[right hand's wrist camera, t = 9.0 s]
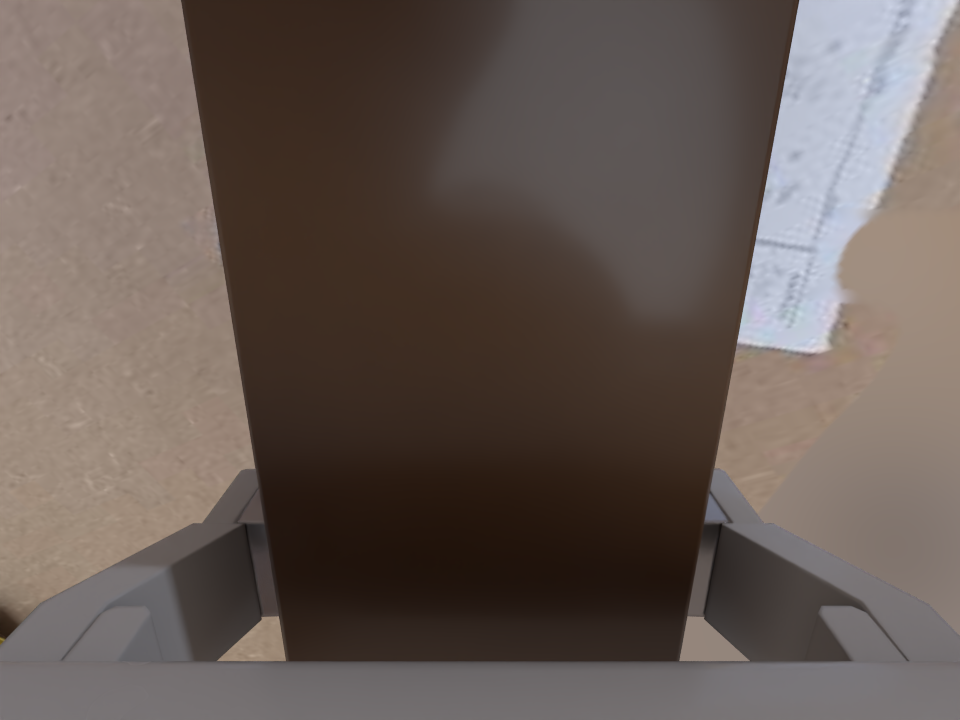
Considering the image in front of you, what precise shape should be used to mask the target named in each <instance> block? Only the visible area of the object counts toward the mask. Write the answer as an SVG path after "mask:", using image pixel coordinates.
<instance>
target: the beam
mask: <svg viewBox="0 0 960 720" xmlns="http://www.w3.org/2000/svg"><path fill="white" fill-rule="evenodd" d="M181 2H182V8H183V15H184V21H185V27H186V34H187V40H188V46H189V52H190V59H191V65H192V71H193V78H194V84H195V90H196V97H197V103H198V109H199V115H200V122H201V128H202V134H203V141H204V147H205V153H206V159H207V166H208V172H209V178H210V185H211V191H212V197H213V204H214V210H215V216H216V222H217V229H218V235H219V241H220V248H221V254H222V260H223V266H224V273H225V279H226V285H227V292H228V298H229V304H230V311H231V317H232V323H233V329H234V336H235V342H236V348H237V355H238V361H239V367H240V373H241V380H242V386H243V392H244V399H245V405H246V411H247V418H248V424H249V430H250V436H251V443H252V449H253V455H254V462H255V468H256V474H257V480H258V487H259V493H260V499H261V506H262V512H263V518H264V525H265V531H266V537H267V543H268V550H269V556H270V562H271V569H272V575H273V581H274V587H275V594H276V600H277V606H278V613H279V619H280V625H281V632H282V638H283V644H284V650H285V657H286V661H679V659H680V653H681V648H682V642H683V637H684V631H685V626H686V620H687V615H688V609H689V604H690V598H691V593H692V587H693V582H694V576H695V571H696V565H697V560H698V554H699V549H700V543H701V538H702V532H703V527H704V521H705V516H706V510H707V505H708V499H709V494H710V488H711V483H712V477H713V472H714V466H715V461H716V455H717V450H718V444H719V439H720V433H721V428H722V422H723V417H724V411H725V406H726V400H727V395H728V389H729V384H730V378H731V373H732V367H733V362H734V356H735V351H736V345H737V340H738V334H739V329H740V323H741V318H742V312H743V307H744V301H745V296H746V290H747V285H748V279H749V274H750V268H751V263H752V257H753V252H754V246H755V241H756V235H757V230H758V224H759V219H760V213H761V208H762V202H763V196H764V191H765V185H766V180H767V174H768V169H769V163H770V158H771V152H772V147H773V141H774V136H775V130H776V125H777V119H778V114H779V108H780V103H781V97H782V92H783V86H784V81H785V75H786V70H787V64H788V59H789V53H790V48H791V42H792V37H793V31H794V26H795V20H796V15H797V9H798V4H799V0H181Z"/></svg>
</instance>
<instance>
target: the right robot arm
mask: <svg viewBox="0 0 960 720" xmlns="http://www.w3.org/2000/svg"><path fill="white" fill-rule="evenodd" d="M267 616H279V613H278V606H277V600H276V594H275V587H274V581H273V575H272V569H271V562H270V556H269V550H268V543H267V537H266V531H265V525H264V518H263V512H262V506H261V499H260V493H259V487H258V480H257V474H256V469H245V470H241V471H240V472H239V474H238V475H237V476H236V478H235V479H234V481H233V482H232V483H231V485H230V486H229V487H228V489H227V490H226V491H225V493H224V494H223V496H222V497H221V498H220V500H219V501H218V502H217V504H216V505H215V506H214V508H213V509H212V510H211V512H210V513H209V515H208V516H207V517H206V519H205V520H204V521H203V523H193V524H191V525H189V526H187V527H185V528H183V529H181V530H179V531H178V532H176V533H174V534H172V535H170V536H168V537H166V538H164V539H162V540H160V541H158V542H156V543H155V544H153V545H151V546H149V547H147V548H145V549H143V550H141V551H139V552H137V553H135V554H133V555H132V556H130V557H128V558H126V559H124V560H122V561H120V562H118V563H116V564H114V565H112V566H111V567H109V568H107V569H105V570H103V571H101V572H99V573H97V574H95V575H93V576H91V577H89V578H88V579H86V580H84V581H82V582H80V583H78V584H76V585H74V586H72V587H70V588H68V589H67V590H65V591H63V592H61V593H59V594H57V595H55V596H53V597H51V598H49V599H47V600H45V601H44V602H42V603H40V604H39V605H38V606H37V607H36V608H35V609H34V610H33V611H32V612H31V613H30V614H29V615H28V616H27V618H26V619H25V620H24V621H23V622H22V623H21V624H20V625H19V626H18V627H17V628H16V629H15V630H14V631H13V632H12V633H11V634H10V635H9V636H8V637H7V638H6V639H5V640H4V642H3V643H2V644H1V645H0V720H960V636H959V635H958V634H957V632H956V631H955V630H954V629H953V628H952V627H951V626H950V625H949V624H948V623H947V622H946V621H945V620H944V619H943V618H942V617H941V616H940V615H939V614H938V613H937V612H936V611H935V610H934V609H933V608H932V607H931V606H930V605H929V604H928V603H926V602H924V601H922V600H920V599H918V598H916V597H914V596H912V595H910V594H908V593H906V592H905V591H903V590H901V589H899V588H897V587H895V586H893V585H891V584H889V583H887V582H885V581H883V580H882V579H880V578H878V577H876V576H874V575H872V574H870V573H868V572H866V571H864V570H862V569H860V568H858V567H856V566H854V565H853V564H851V563H849V562H847V561H845V560H843V559H841V558H839V557H837V556H835V555H833V554H831V553H829V552H828V551H826V550H824V549H822V548H820V547H818V546H816V545H814V544H812V543H810V542H808V541H806V540H804V539H803V538H800V537H799V536H797V535H795V534H793V533H791V532H789V531H787V530H785V529H783V528H781V527H779V526H777V525H776V524H774V523H764V522H763V521H762V520H761V518H760V517H759V516H758V514H757V513H756V512H755V510H754V509H753V508H752V506H751V505H750V504H749V502H748V501H747V500H746V498H745V497H744V496H743V495H742V493H741V492H740V491H739V489H738V488H737V487H736V485H735V484H734V483H733V481H732V480H731V479H730V477H729V476H728V475H727V473H726V472H725V471H724V470H722V469H720V468H714V472H713V477H712V483H711V488H710V494H709V499H708V505H707V510H706V516H705V521H704V527H703V532H702V538H701V543H700V549H699V554H698V560H697V565H696V571H695V576H694V582H693V587H692V593H691V598H690V604H689V609H688V615H687V616H698V617H704V619H705V620H706V621H707V622H708V623H709V624H710V625H711V626H712V627H713V628H714V629H716V630H717V631H718V632H719V633H720V634H721V635H722V636H723V637H724V638H725V639H727V640H728V641H729V642H730V643H731V644H732V645H733V646H734V647H735V648H736V649H738V650H739V651H740V652H741V653H742V654H743V655H744V656H745V657H746V658H747V659H749V660H750V661H217V660H218V659H219V658H220V657H221V656H222V655H223V654H225V653H226V652H227V651H228V650H229V649H230V648H231V647H232V646H233V645H234V644H235V643H237V642H238V641H239V640H240V639H241V638H242V637H243V636H244V635H245V634H246V633H247V632H249V631H250V630H251V629H252V628H253V627H254V626H255V625H256V624H257V623H258V622H260V621H261V620H262V618H261V617H267Z"/></svg>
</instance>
